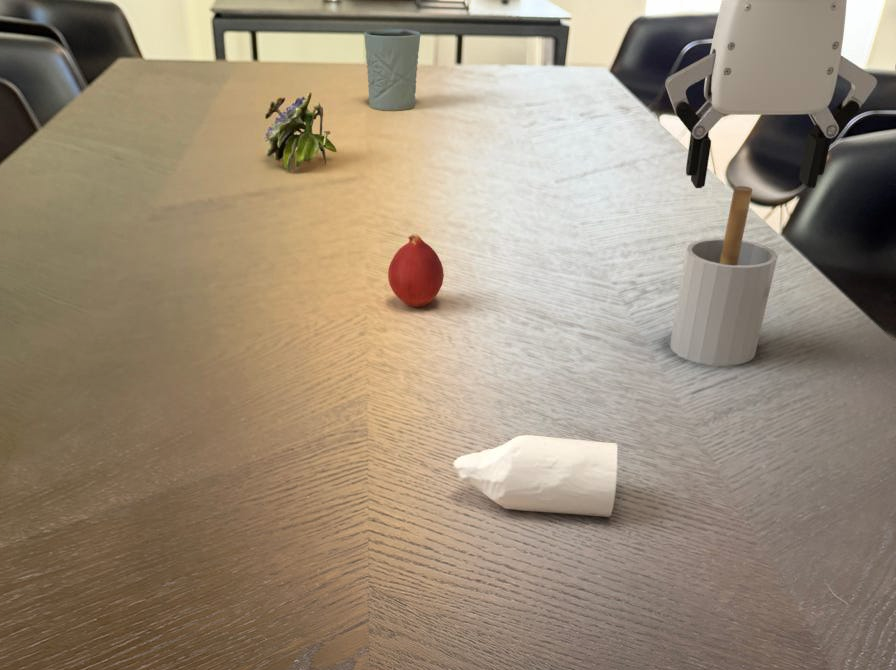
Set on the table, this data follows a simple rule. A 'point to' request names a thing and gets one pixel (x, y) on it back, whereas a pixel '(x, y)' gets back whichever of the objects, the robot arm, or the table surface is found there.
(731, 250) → the mallet
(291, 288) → the table surface
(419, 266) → the onion
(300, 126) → the passion flower
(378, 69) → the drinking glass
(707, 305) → the faceted pen holder
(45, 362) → the table surface
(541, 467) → the white tapered cylinder
